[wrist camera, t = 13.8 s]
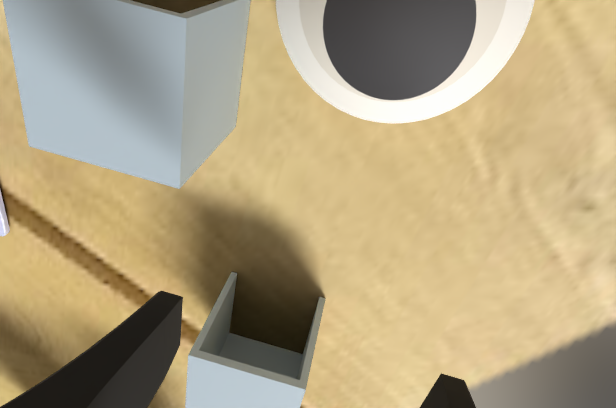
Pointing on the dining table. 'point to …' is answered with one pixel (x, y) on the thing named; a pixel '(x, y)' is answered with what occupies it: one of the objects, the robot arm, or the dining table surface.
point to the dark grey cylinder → (397, 43)
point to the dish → (451, 93)
